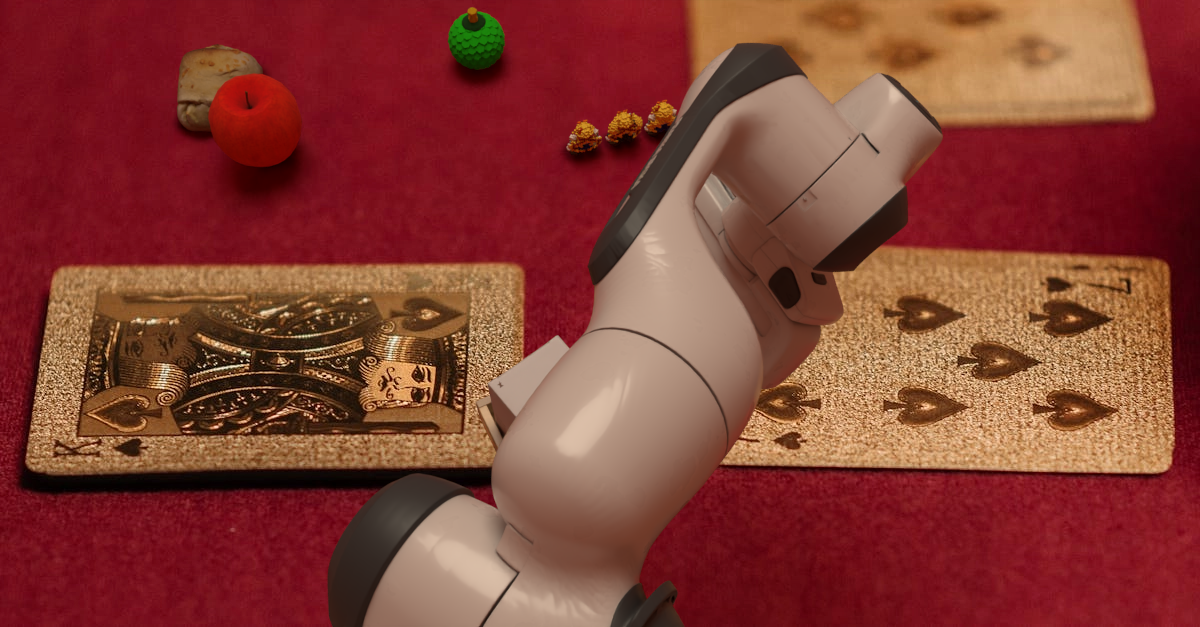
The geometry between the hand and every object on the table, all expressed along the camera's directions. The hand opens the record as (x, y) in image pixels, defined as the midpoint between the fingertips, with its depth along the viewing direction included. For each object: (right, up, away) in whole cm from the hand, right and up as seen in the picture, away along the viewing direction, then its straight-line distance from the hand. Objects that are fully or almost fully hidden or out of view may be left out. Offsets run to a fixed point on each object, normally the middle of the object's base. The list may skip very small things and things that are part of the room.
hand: (665, 334), depth 98 cm
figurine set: (-3, +26, +54) cm, 60 cm away
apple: (-52, +24, +53) cm, 78 cm away
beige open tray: (-11, -10, +6) cm, 16 cm away
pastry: (-60, +33, +58) cm, 90 cm away
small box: (-11, -9, +6) cm, 16 cm away
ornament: (-24, +39, +62) cm, 77 cm away
